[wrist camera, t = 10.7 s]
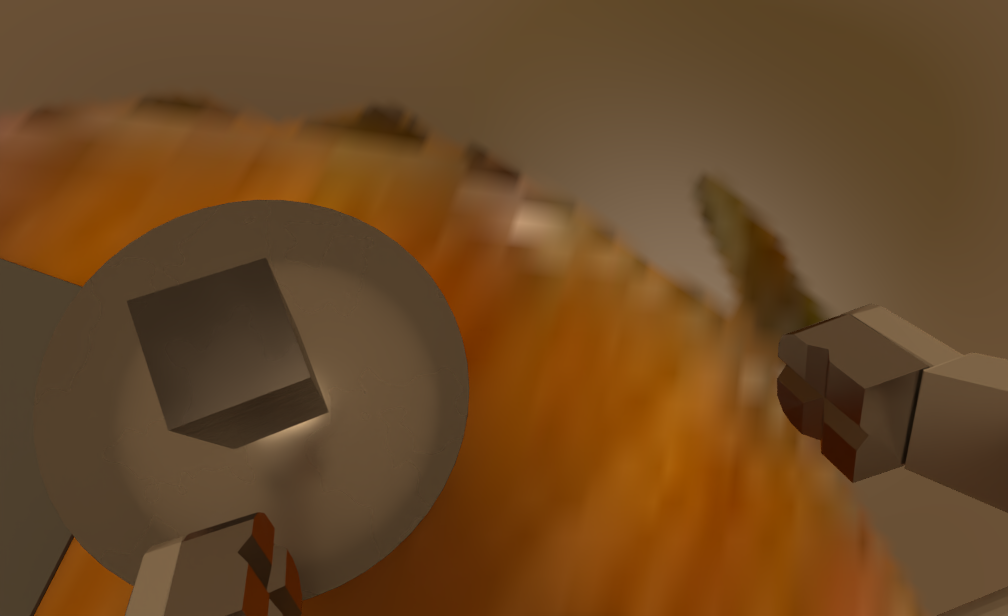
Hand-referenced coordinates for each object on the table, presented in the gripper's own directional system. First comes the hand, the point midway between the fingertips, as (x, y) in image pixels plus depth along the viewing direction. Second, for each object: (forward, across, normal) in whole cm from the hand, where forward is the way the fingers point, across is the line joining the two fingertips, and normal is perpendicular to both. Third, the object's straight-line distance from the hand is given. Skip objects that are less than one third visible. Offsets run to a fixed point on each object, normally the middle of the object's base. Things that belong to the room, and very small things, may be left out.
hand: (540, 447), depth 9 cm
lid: (+13, -7, -6) cm, 16 cm away
